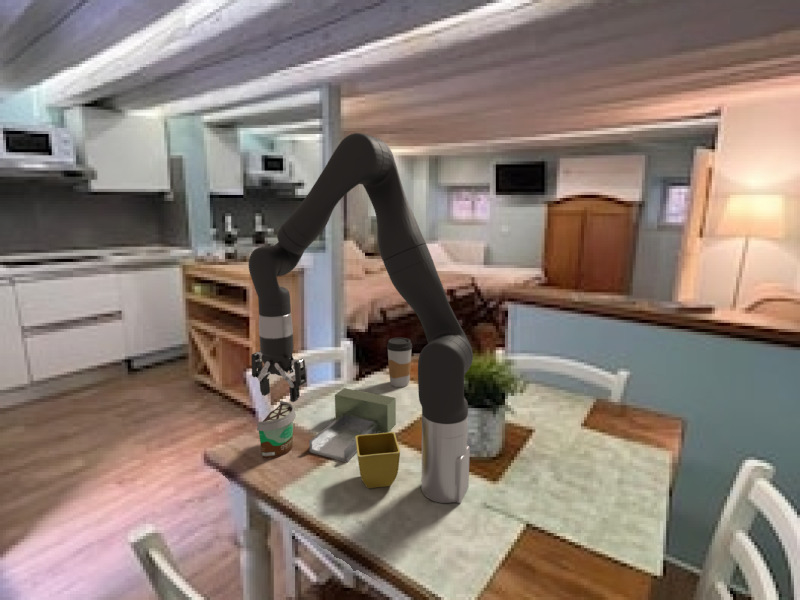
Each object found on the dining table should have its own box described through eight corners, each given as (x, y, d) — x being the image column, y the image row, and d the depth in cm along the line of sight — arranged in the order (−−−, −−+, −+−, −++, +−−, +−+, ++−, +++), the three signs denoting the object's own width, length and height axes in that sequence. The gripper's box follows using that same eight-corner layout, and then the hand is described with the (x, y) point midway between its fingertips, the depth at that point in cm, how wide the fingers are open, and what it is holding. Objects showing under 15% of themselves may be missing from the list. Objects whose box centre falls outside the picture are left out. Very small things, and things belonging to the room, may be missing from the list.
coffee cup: (417, 383, 149) (417, 340, 146) (400, 390, 143) (400, 346, 140) (399, 377, 155) (399, 335, 152) (382, 384, 149) (381, 341, 146)
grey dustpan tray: (395, 425, 121) (395, 397, 119) (357, 465, 102) (356, 433, 101) (345, 414, 127) (344, 388, 126) (300, 449, 109) (298, 419, 107)
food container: (283, 464, 103) (281, 424, 101) (259, 461, 104) (256, 422, 102) (305, 438, 114) (303, 401, 112) (283, 435, 116) (280, 399, 114)
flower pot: (358, 495, 91) (357, 456, 90) (356, 471, 100) (355, 434, 98) (400, 491, 93) (400, 452, 91) (394, 467, 101) (394, 431, 99)
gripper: (311, 331, 103) (313, 396, 107) (263, 324, 109) (267, 386, 113) (290, 340, 97) (294, 409, 100) (240, 332, 102) (245, 398, 106)
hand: (279, 397), depth 106 cm, fingers open, 8 cm apart
